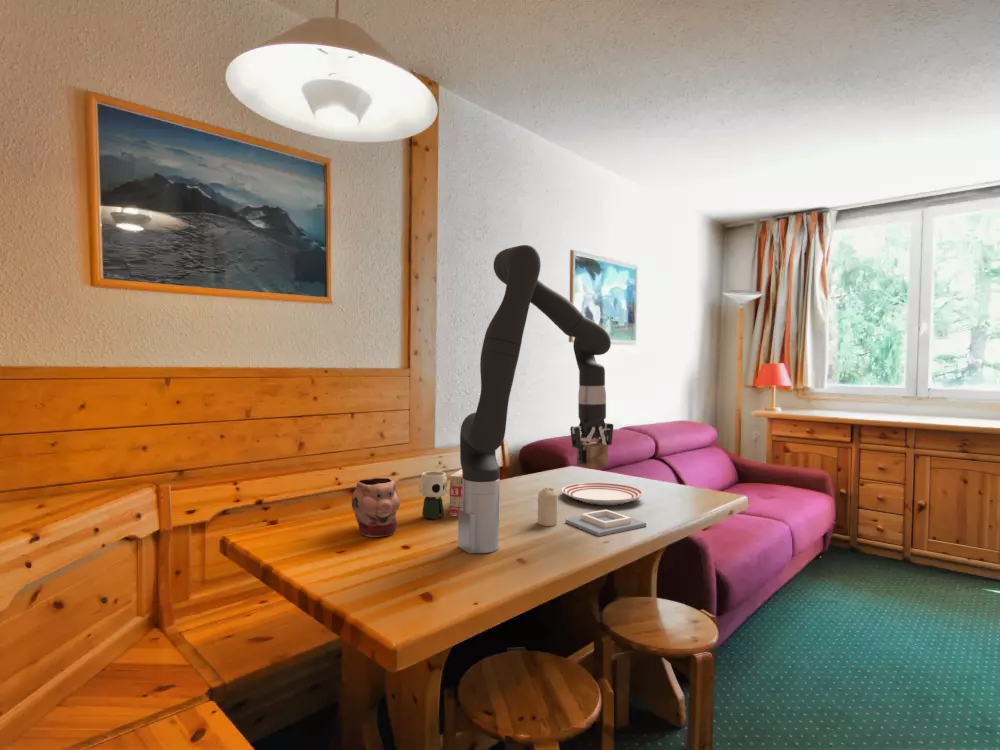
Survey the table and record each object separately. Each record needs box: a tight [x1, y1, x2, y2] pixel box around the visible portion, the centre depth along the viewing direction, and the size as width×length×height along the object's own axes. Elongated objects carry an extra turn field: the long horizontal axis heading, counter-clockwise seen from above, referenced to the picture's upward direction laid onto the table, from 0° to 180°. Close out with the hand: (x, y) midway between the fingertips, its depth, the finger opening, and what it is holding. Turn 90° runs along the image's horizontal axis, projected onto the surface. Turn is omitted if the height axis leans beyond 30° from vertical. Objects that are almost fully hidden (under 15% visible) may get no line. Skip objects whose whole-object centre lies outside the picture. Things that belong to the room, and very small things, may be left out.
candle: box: [537, 487, 559, 527], centre depth 155 cm, size 6×6×10 cm
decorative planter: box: [351, 477, 401, 538], centre depth 146 cm, size 20×12×14 cm, turn 36°
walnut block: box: [576, 441, 609, 470], centre depth 151 cm, size 6×6×6 cm
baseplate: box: [564, 509, 647, 537], centre depth 155 cm, size 18×14×2 cm
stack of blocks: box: [449, 468, 462, 517], centre depth 171 cm, size 21×6×12 cm, turn 165°
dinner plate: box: [561, 481, 644, 506], centre depth 186 cm, size 27×27×3 cm
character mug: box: [418, 470, 448, 520], centre depth 159 cm, size 11×7×13 cm, turn 140°
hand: (592, 462), depth 151 cm, fingers closed on walnut block, 6 cm apart
